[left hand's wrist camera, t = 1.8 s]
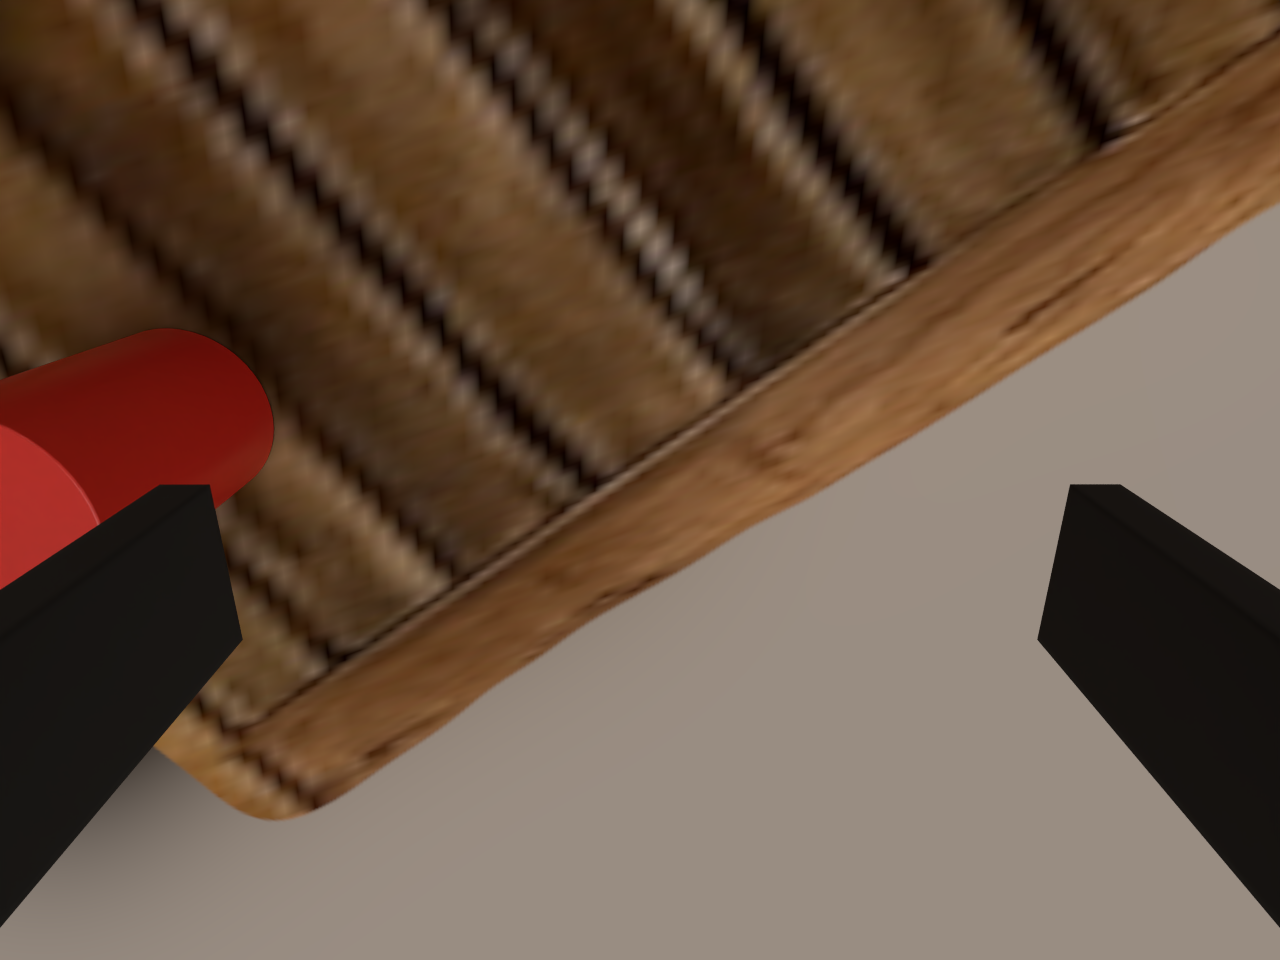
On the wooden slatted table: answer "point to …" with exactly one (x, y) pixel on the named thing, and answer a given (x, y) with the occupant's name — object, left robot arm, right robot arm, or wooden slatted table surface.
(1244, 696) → the left robot arm
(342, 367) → the wooden slatted table surface
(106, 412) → the tin
